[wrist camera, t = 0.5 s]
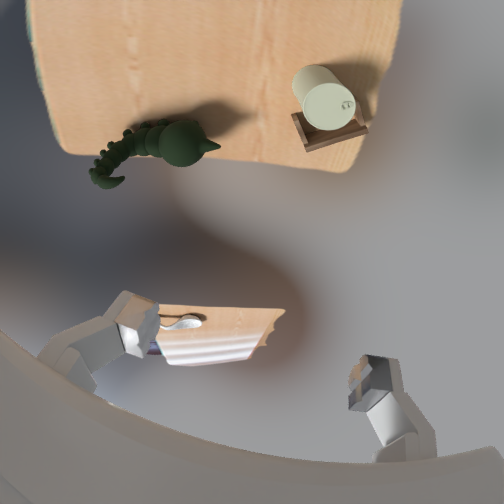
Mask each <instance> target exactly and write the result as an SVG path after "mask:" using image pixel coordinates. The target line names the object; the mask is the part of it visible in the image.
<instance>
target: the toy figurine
mask: <svg viewBox="0 0 504 504" xmlns="http://www.w3.org/2000/svg"><path fill="white" fill-rule="evenodd" d="M123 136H124V138H123V139H122V140H121V141H117V142H115V143H114V142H112V141H111V142H109V143H108V144H107V147H108V148H109V149H110V150H108V151H106V150H101V151H100V155H101V156H102V157H103V158H102V159H101V160H99V159H95V160H94V165H95V166H96V167H95V168H91V169H90V170H89V174H90V175H91V180H92V181H93V183H94V184H98V186H99V187H101V188H102V189H111V188H114V187H116V186H118V185H119V184H120V183H121V182H123V181H124V179H125V177H124V176H120V177H109V176H110V175H111V174H112V173H113V171H114V169H115V168H117V167H118V166H119V165H120V164H121V162H123V161H125V160H126V159H127V158H128V157H132V156H136V155H140V156H148V155H152V156H154V157H160V158H161V157H163V159H164V160H165V161H166V162H168V163H169V164H171V165H173V166H177V167H186V166H190V165H192V164H194V163H196V162H197V161H198V160H199V159H201V158H202V156H203V155H204V153H205V152H208V151H212V150H216V149H219V148H221V146H220V145H219V144H217V143H215V142H213V141H211V140H209V139H207V138H206V135H205V133H204V131H203V129H202V128H201V127H200V125H199V123H198V122H197V121H195V120H194V121H189V120H180V121H176V122H173V123H171V124H169V121H168V120H166V119H162V120H160V121H159V122H158V125H157V126H155V127H153V128H152V129H151V128H150V125H149V123H147V122H144V123H143V124H141V129H140V130H138V131H136V132H135V133H132V131H131V130H130V129H126V130H125V131H124V132H123Z"/></svg>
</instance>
